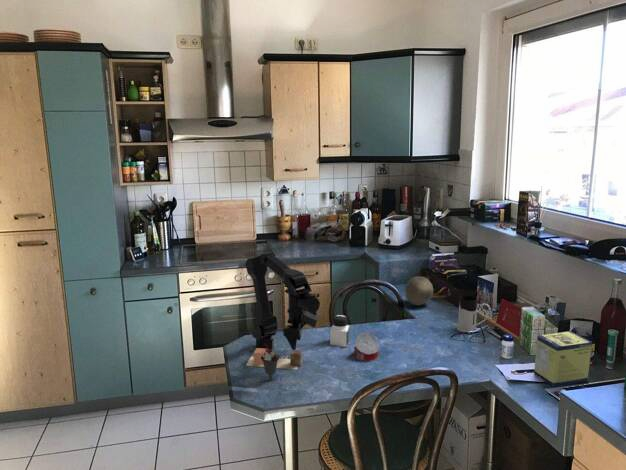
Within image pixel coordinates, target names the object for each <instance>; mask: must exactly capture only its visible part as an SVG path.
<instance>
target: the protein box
mask: <svg viewBox="0 0 626 470" xmlns="http://www.w3.org/2000/svg"><path fill="white" fill-rule="evenodd" d="M592 345H593V341H591V340H589V339H587V338H585V337H583V336H581V335H579V334H578V333H575V332H574V331H562V332H556V333H549V334H541V335H537V340H536V349H535V361H534V367H533V368H534V371H533V374H534V375H535V376H536V375H537V376H536V377H538V378H539V377H540V378H539V379H541V380H542V379H543V380H542V381H544V382H546V383H547V385H550V386H551V387H561V386H566V385H571V384H573V385H574V384H578V383H580V384H581V383H585V382H588V379H589V371H590V370H589V369H590V363H591V354H592Z"/></svg>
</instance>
